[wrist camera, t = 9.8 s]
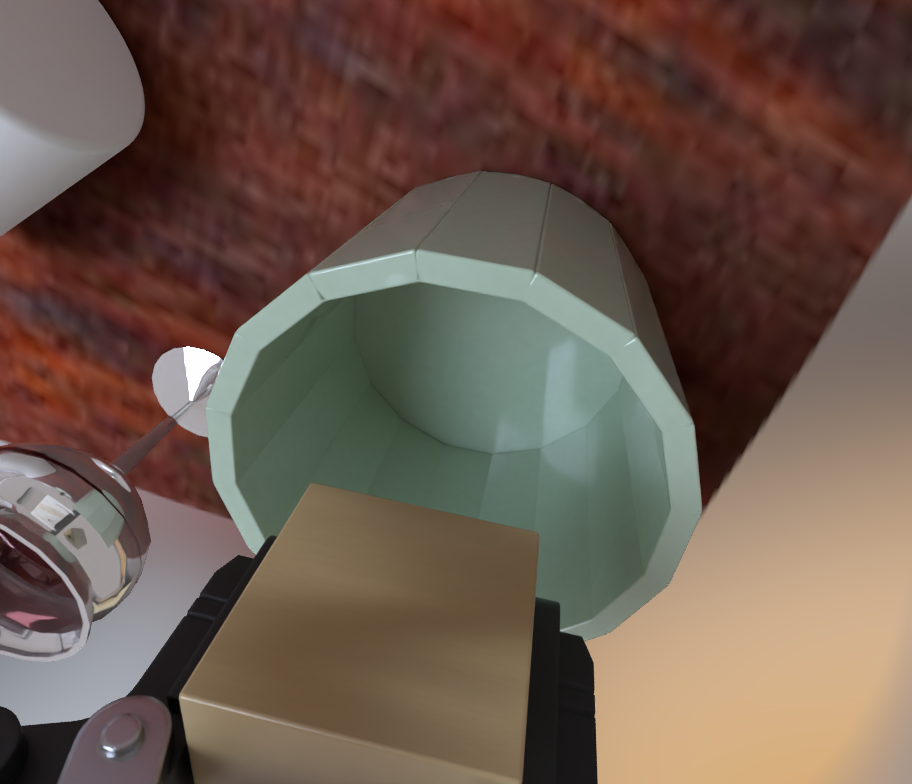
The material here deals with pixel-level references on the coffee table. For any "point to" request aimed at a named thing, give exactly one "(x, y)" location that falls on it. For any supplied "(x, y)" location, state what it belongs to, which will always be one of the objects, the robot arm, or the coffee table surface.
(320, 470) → the jar
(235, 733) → the block
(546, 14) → the coffee table surface
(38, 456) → the wineglass
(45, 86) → the mug
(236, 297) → the coffee table surface
